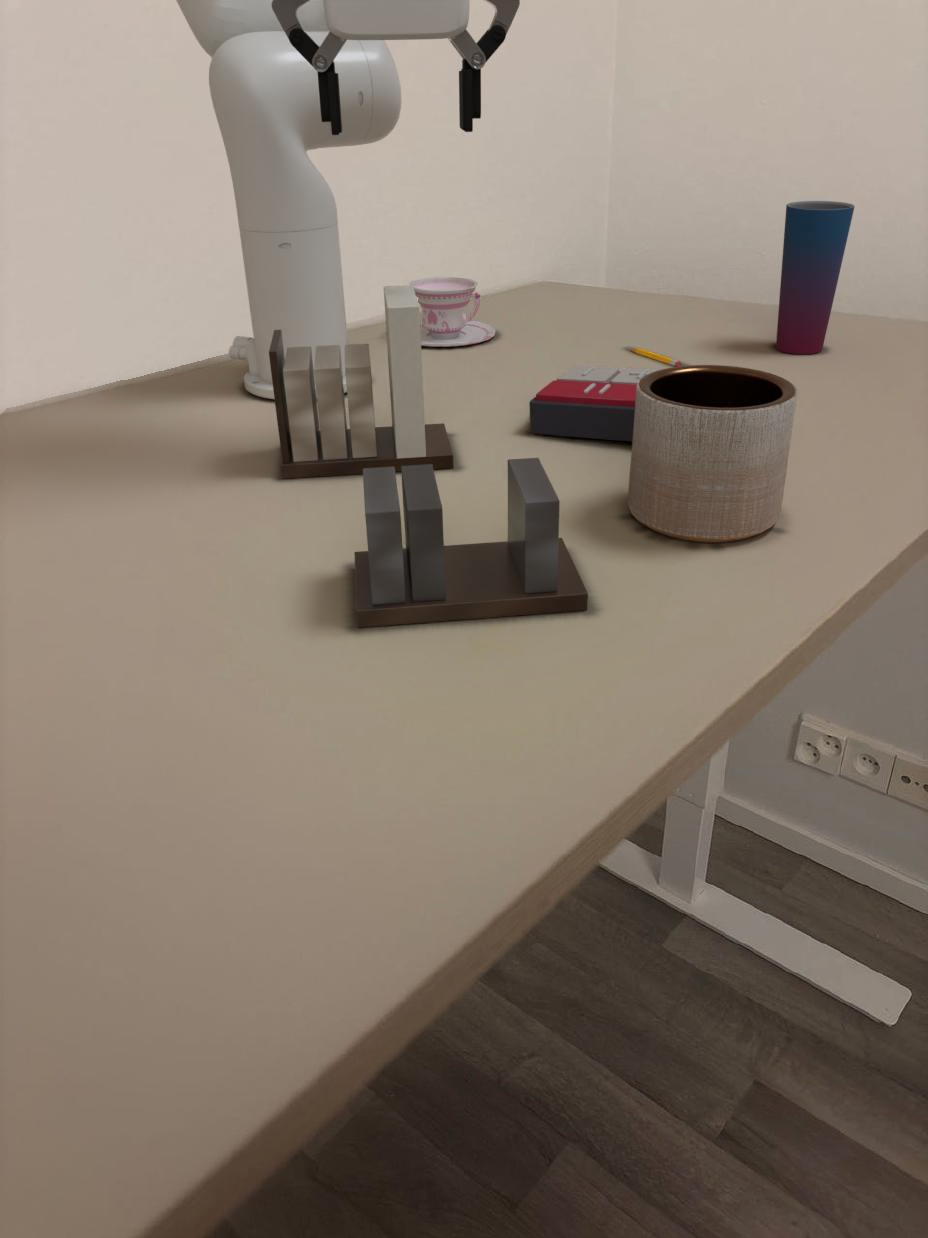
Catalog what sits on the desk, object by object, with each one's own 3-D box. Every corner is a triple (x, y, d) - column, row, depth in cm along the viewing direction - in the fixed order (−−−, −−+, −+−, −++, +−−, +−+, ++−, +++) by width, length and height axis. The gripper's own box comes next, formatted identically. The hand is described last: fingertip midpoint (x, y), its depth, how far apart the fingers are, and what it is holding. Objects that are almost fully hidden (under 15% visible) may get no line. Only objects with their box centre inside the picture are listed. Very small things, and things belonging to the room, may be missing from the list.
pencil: (676, 368, 104) (676, 362, 104) (625, 351, 110) (625, 345, 110) (681, 367, 104) (682, 361, 104) (630, 350, 111) (631, 344, 110)
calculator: (569, 360, 93) (726, 368, 87) (570, 404, 95) (724, 414, 89) (527, 393, 85) (698, 403, 79) (528, 440, 87) (695, 454, 81)
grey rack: (357, 628, 58) (347, 517, 54) (355, 567, 65) (346, 466, 61) (587, 610, 59) (592, 501, 55) (561, 552, 66) (564, 452, 62)
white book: (396, 458, 79) (387, 307, 73) (392, 426, 86) (383, 285, 80) (426, 456, 79) (419, 305, 73) (419, 425, 86) (412, 284, 80)
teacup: (377, 341, 116) (373, 288, 113) (432, 320, 125) (430, 270, 122) (462, 353, 110) (460, 297, 107) (513, 330, 119) (513, 278, 116)
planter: (596, 511, 72) (602, 383, 67) (694, 474, 77) (706, 355, 72) (710, 562, 64) (727, 422, 59) (810, 517, 70) (833, 387, 65)
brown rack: (282, 478, 79) (266, 353, 74) (287, 445, 86) (273, 328, 80) (453, 468, 80) (449, 344, 75) (444, 435, 87) (440, 320, 82)
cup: (837, 344, 110) (861, 202, 102) (821, 359, 105) (845, 210, 97) (777, 338, 113) (796, 199, 106) (759, 351, 108) (778, 207, 101)
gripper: (513, -152, 67) (510, 125, 76) (260, -151, 66) (288, 130, 75) (529, -172, 61) (524, 133, 69) (249, -172, 59) (281, 139, 68)
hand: (401, 131), depth 72 cm, fingers open, 9 cm apart
